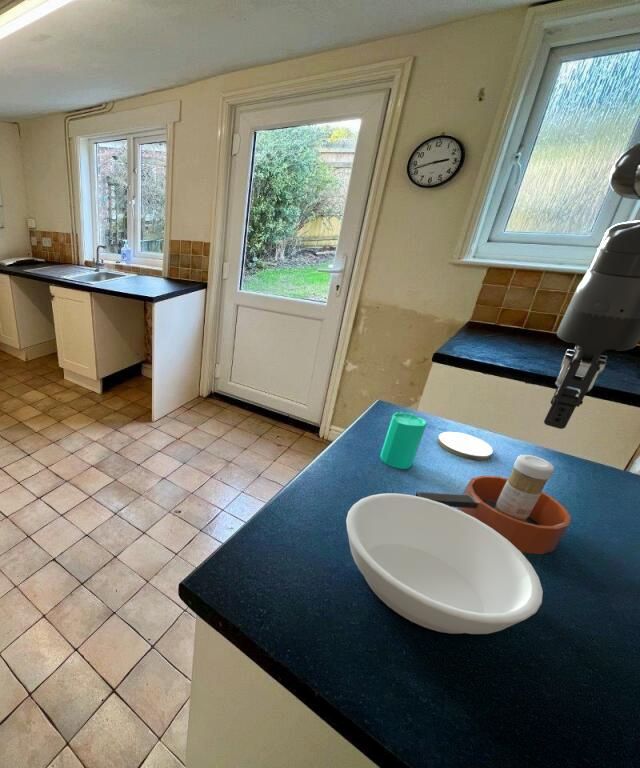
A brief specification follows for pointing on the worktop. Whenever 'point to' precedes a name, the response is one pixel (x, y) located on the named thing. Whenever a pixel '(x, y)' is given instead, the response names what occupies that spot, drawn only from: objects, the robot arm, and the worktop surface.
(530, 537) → the pan
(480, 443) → the disc
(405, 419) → the candle
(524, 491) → the sprinkles bottle
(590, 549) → the worktop surface
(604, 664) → the worktop surface
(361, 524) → the bowl
